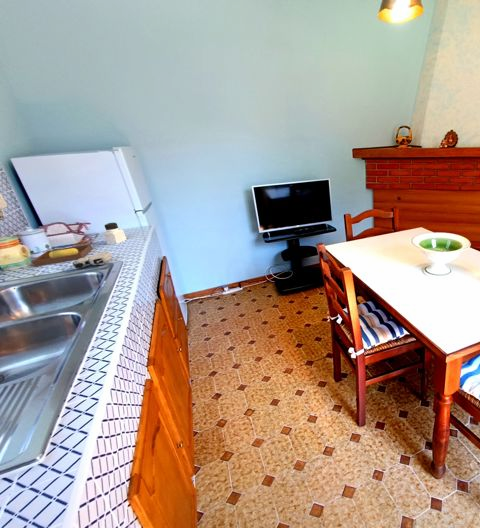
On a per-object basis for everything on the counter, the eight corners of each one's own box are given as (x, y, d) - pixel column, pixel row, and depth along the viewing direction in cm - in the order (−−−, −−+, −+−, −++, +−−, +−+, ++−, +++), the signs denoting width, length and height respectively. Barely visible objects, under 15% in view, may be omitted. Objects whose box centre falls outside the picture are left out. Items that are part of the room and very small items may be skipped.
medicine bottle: (127, 240, 185) (120, 221, 180) (117, 244, 179) (110, 224, 174) (117, 240, 186) (110, 221, 181) (107, 244, 180) (99, 225, 175)
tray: (34, 266, 148) (31, 261, 147) (49, 255, 164) (47, 250, 163) (82, 259, 156) (80, 253, 155) (92, 249, 172) (90, 244, 171)
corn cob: (50, 260, 156) (46, 254, 154) (52, 256, 159) (48, 250, 157) (79, 256, 161) (75, 249, 159) (80, 252, 164) (77, 246, 161)
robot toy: (72, 274, 139) (110, 264, 144) (67, 265, 137) (106, 256, 143) (79, 265, 149) (115, 257, 154) (75, 257, 147) (111, 249, 153)
